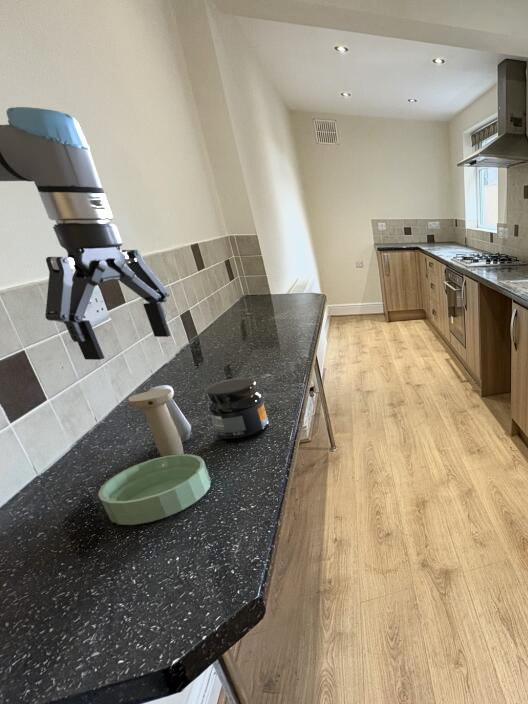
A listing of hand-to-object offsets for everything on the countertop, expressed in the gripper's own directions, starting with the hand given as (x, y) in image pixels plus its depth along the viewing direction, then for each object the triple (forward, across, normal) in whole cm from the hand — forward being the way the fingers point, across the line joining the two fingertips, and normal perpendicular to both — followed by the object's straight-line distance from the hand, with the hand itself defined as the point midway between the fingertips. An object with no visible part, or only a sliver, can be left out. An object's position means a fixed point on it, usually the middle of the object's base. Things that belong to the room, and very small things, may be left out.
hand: (131, 346), depth 75 cm
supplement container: (+25, +12, -7) cm, 28 cm away
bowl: (+25, -12, -8) cm, 29 cm away
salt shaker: (+25, +8, +6) cm, 27 cm away
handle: (+25, 0, 0) cm, 25 cm away
